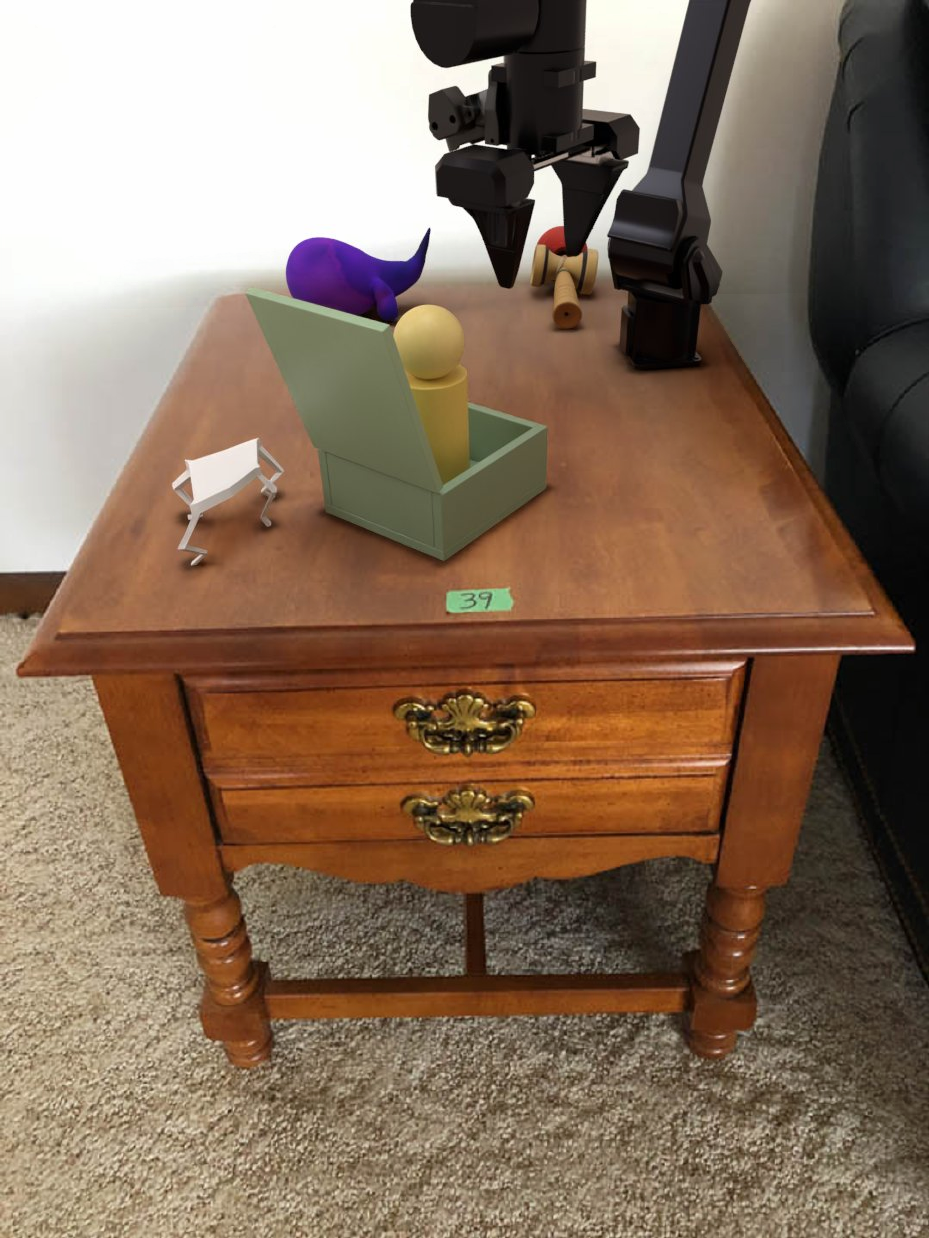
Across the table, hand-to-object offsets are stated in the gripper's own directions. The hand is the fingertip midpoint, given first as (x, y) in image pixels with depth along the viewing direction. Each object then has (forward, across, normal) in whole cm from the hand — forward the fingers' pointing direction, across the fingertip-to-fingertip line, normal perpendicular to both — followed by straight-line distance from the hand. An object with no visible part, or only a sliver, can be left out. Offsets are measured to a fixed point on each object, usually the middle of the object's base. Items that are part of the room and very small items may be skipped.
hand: (540, 271), depth 81 cm
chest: (+13, +16, +1) cm, 20 cm away
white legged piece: (+13, +28, -8) cm, 32 cm away
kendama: (+13, -26, -15) cm, 33 cm away
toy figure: (+12, +16, +1) cm, 20 cm away
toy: (+13, -11, -30) cm, 35 cm away
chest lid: (+1, +24, +1) cm, 24 cm away
